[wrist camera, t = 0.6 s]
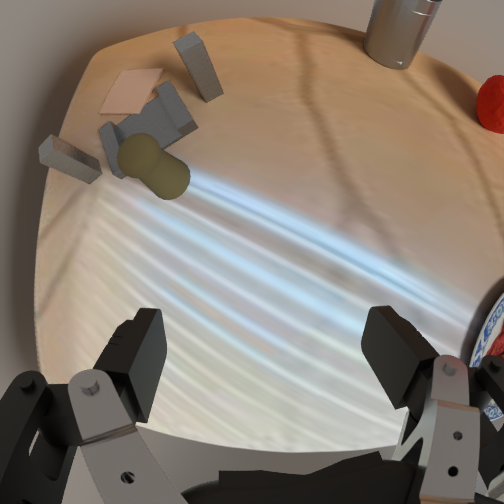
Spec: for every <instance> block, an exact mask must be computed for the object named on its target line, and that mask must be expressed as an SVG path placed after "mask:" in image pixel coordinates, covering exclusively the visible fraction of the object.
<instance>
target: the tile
mask: <svg viewBox="0 0 504 504" xmlns="http://www.w3.org/2000/svg"><path fill="white" fill-rule="evenodd" d="M163 71H164V69H163V68H156V69H140V70H128V71H121V73H120V74H119V76H118V78H117V79H116V81H115V83H114V85H113V86H112V88H111V90H110V92H109V94H108V96H107V97H106V99H105V101H104V103H103V105H102V107H101V109H100V111H99V113H98V114H100V115H132V114H140V112H141V110H142V108H143V106H145V105H146V104H147V102H148V100H149V98H150V96H151V94H152V92H153V90H154V88H155V86H156V84H157V82H158V80H159V78H160V77H161V75H162V73H163Z"/></svg>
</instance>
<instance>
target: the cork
mask: <svg viewBox="0 0 504 504" xmlns="http://www.w3.org/2000/svg"><path fill="white" fill-rule="evenodd" d="M117 163H118V166H119V168H120V170H121V171H122V172H123V173H124V174H125V175H127V176H129V177H132V178H139V179H140V180H141V181H142V182H143V183H144V184H145V185H146V186H147V187H148V188H149V189H150V190H152V191H153V192H154V193H155V194H156V195H157V196H158V197H159V198H161V199H164V200H171V199H175V198H177V197H179V196H180V195H182V194H183V192H184V191H185V190H186V189H187V187H188V185H189V182H190V170H189V168H188V166H187V165H186V164H185V163H184V162H182V161H181V160H179V159H177V158H175V157H174V156H172V155H170V154H169V153H167V152H165V151H163V150H162V149H161V148H160V146H159V143H158V141H157V140H156V139H155V138H154V137H152V136H151V135H149V134H145V133H137V134H134V135H131V136H129V137H128V138H127V139H125V141H124V142H123V143H122V144H121V146H120V148H119V150H118V153H117Z"/></svg>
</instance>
